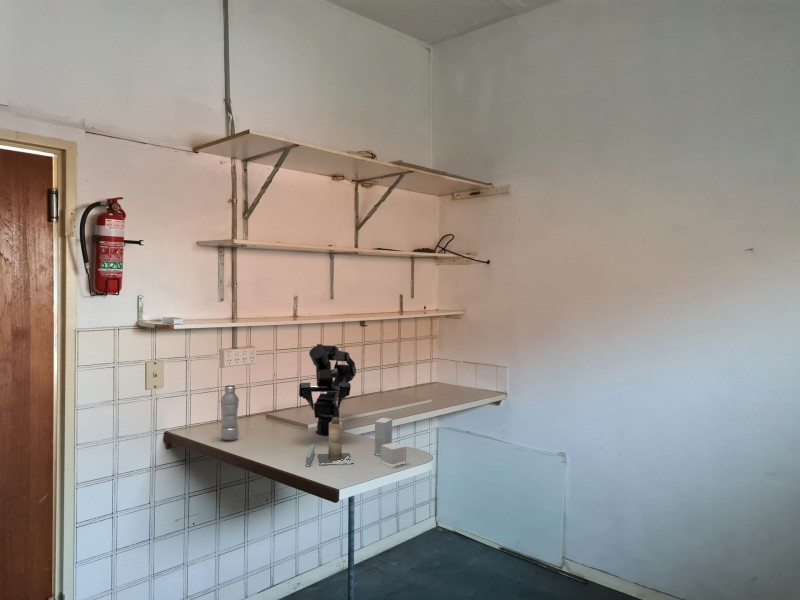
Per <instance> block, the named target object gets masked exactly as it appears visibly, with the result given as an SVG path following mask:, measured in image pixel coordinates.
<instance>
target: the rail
mask: <svg viewBox="0 0 800 600" xmlns="http://www.w3.org/2000/svg"><path fill="white" fill-rule="evenodd" d="M315 447H316V445H315V444H310V447H309V448H308V449H309V450H308V452H307V454H306V457H305V466H306V465H310V466H311V464H312V462H313V459H312V458H314V456H315ZM313 455H314V456H313ZM311 461H312V462H311ZM310 463H311V464H310Z"/></svg>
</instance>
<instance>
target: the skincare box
mask: <svg viewBox="0 0 800 600" xmlns="http://www.w3.org/2000/svg"><path fill="white" fill-rule="evenodd" d="M389 443H393V419H392V418H386V417H381V418H379V419H377V420H375V422H374V454H375V453H377V454H381V445H385V444H389Z"/></svg>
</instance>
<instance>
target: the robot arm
mask: <svg viewBox="0 0 800 600" xmlns="http://www.w3.org/2000/svg"><path fill="white" fill-rule="evenodd" d="M308 355H309V357H310V359H311V361H312V363H313V365H314V366H315V373H316V376H315V377H316V385H311V382H300V383H299V386H298V387H299V388H298V397H299V398H302V399H305V401H306V402H307V403H308V405H309V407H310V408H311V410H312V411H314V418H315V419H316V418H317V419H318V420H317V425H316V428H317V429H316V430H315V433H317V434H319V435H322V436H329V422H331V420H332V418H334V417H337V418H339V419H340V413H341V412H340V408H341V403H342V401H343V399H345V398H347V397H348V396H350V394H351V387H352V386H351V383H350V382H352V380H353V379H354V377H355V376H356V374H357V368H356V362H355V361H354V360H353V359H352V358H351V356H350V353H349V352H348V351H343V350H339V348H338V347H337V345H325V344H324V345H323V343H322V344H321V343H317V344H316V346H313V347H312V348H311V349H310V350H309V353H308ZM331 361H332V362H333V361H336V362H335V363H334V365H333V368H332V362H331ZM339 362H346V364H340V363H339ZM338 363H339V364H338ZM317 392H321V393H320V394H319V395H318V397H317V398H316V401H315V402H314V400H313V393H317Z"/></svg>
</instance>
